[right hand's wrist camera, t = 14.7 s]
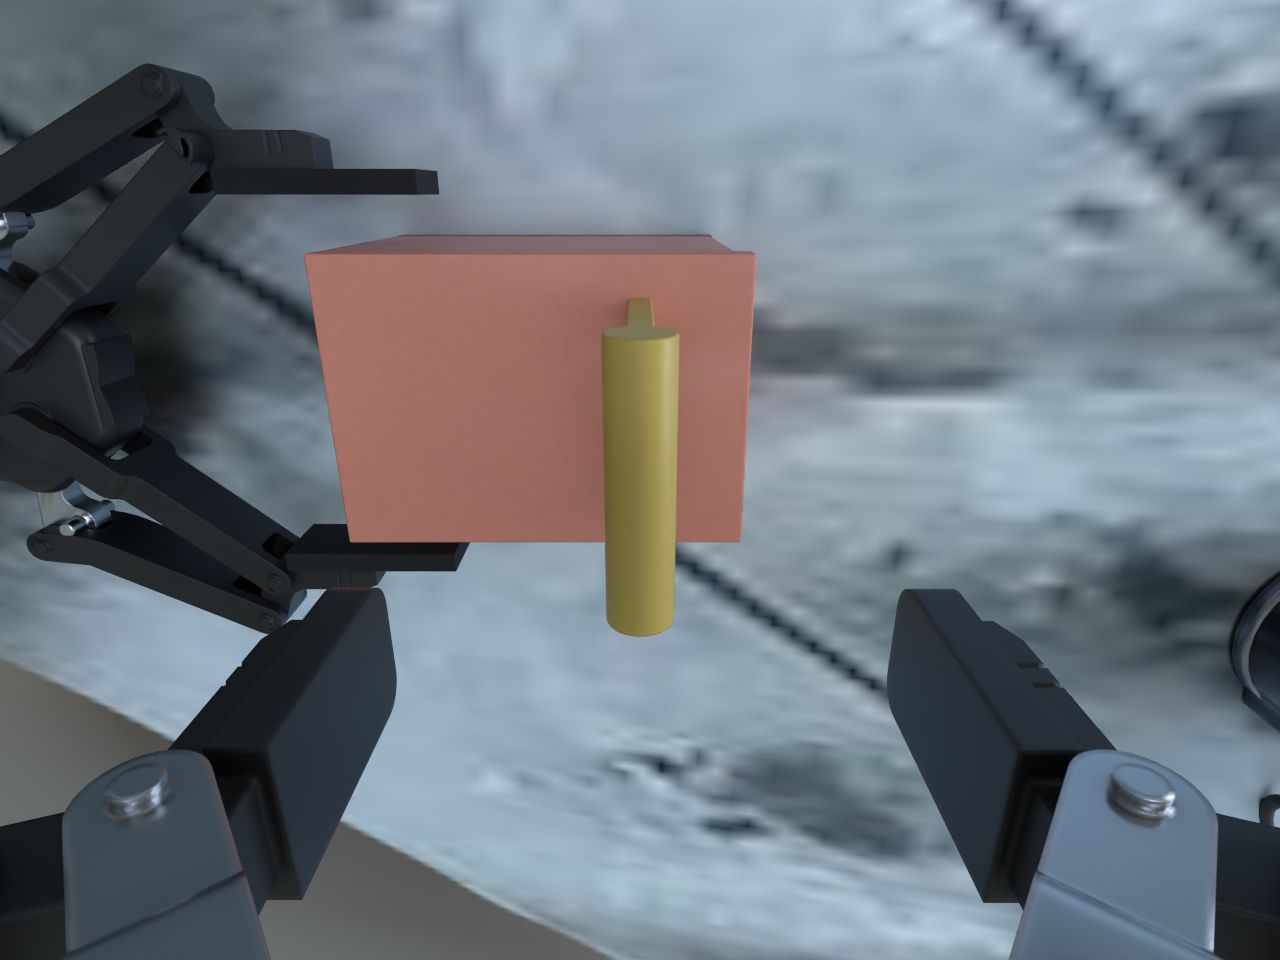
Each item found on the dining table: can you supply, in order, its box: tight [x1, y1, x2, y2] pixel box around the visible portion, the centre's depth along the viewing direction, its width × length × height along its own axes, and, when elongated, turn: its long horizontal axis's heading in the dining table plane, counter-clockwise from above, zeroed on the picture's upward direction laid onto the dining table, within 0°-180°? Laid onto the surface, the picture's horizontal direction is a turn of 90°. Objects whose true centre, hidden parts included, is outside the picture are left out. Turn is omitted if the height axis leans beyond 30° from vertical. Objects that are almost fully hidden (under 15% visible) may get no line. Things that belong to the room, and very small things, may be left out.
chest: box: [324, 235, 732, 251], centre depth 29 cm, size 13×10×9 cm
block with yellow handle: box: [304, 251, 756, 636], centre depth 20 cm, size 13×10×8 cm
